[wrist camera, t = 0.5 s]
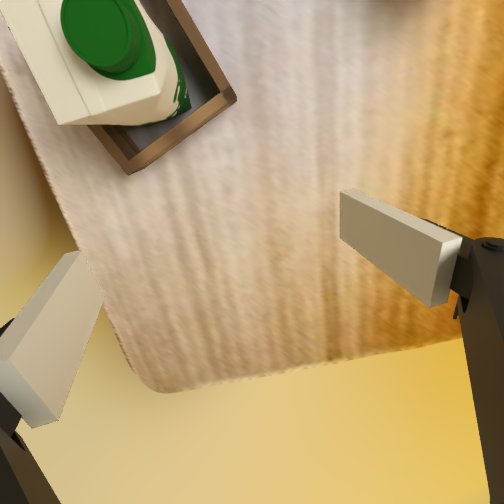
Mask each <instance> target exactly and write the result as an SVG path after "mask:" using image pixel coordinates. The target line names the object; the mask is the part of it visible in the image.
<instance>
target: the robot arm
mask: <svg viewBox="0 0 504 504" xmlns="http://www.w3.org/2000/svg"><path fill="white" fill-rule="evenodd" d="M340 238H341V239H342V240H343V241H344V242H346V243H347V244H348V245H350V246H351V247H352V248H353V249H355V250H356V251H357V252H359V253H360V254H361V255H362V256H364V257H365V258H366V259H368V260H369V261H370V262H371V263H373V264H374V265H375V266H376V267H378V268H379V269H380V270H382V271H383V272H384V273H385V274H387V275H388V276H389V277H391V278H392V279H393V280H394V281H396V282H397V283H398V284H400V285H401V286H402V287H403V288H405V289H406V290H407V291H409V292H410V293H411V294H412V295H414V296H415V297H416V298H417V299H419V300H420V301H421V302H423V303H424V304H425V305H426V306H428V307H429V308H430V307H434V306H437V305H440V304H443V303H447V300H448V296H449V292H450V289H452V290H453V291H455V292H456V293H458V294H459V296H458V300H457V304H456V308H455V312H454V315H453V319H457V316H458V315H459V318H460V324H461V330H462V336H463V342H464V347H465V353H466V359H467V365H468V371H469V376H470V382H471V387H472V394H473V400H474V406H475V411H476V417H477V423H478V429H479V435H480V440H481V446H482V451H483V458H484V464H485V469H486V475H487V481H488V487H489V494H490V504H504V239H501V238H493V237H483V238H478V239H476V240H473V239H470V238H468V237H466V236H463V235H461V234H459V233H457V232H454V231H452V230H450V229H446V228H445V227H443V226H441V225H439V226H438V224H436V223H434V222H431V221H429V220H426V219H421V218H418V217H416V216H413V215H411V214H409V213H407V212H404V211H402V210H400V209H398V208H395V207H393V206H391V205H389V204H386V203H384V202H382V201H380V200H377V199H375V198H373V197H371V196H368V195H366V194H364V193H362V192H359V191H357V190H355V189H349V190H345V191H340ZM104 299H105V295H104V293H103V291H102V289H101V287H100V285H99V283H98V281H97V279H96V277H95V275H94V273H93V271H92V269H91V267H90V265H89V263H88V261H87V259H86V257H85V255H84V253H83V251H82V250H79V251H75V252H71V253H66V254H64V255H63V257H62V258H61V259H60V261H59V262H58V263H57V265H56V266H55V267H54V268H53V270H52V271H51V272H50V274H49V275H48V276H47V277H46V279H45V280H44V281H43V283H42V284H41V285H40V287H39V288H38V289H37V291H36V292H35V293H34V294H33V296H32V297H31V298H30V299H29V301H28V302H27V303H26V305H25V306H24V307H23V309H22V310H21V311H20V312H19V314H18V315H17V316H16V318H13V319H12V320H10V321H9V322H8V323H6V324H5V325H4V326H3V327H2V328H0V504H61V503H60V501H59V500H58V498H57V496H56V495H55V493H54V491H53V489H52V488H51V486H50V484H49V483H48V481H47V479H46V478H45V476H44V474H43V473H42V471H41V469H40V468H39V466H38V464H37V463H36V461H35V459H34V457H33V456H32V454H31V452H30V451H29V449H28V448H27V446H26V444H25V443H24V441H23V439H22V438H21V436H20V435H19V434H18V433H17V432H16V431H15V429H16V427H17V425H18V423H19V421H20V419H21V417H22V418H23V419H24V421H25V422H26V423H27V424H28V425H29V426H30V427H31V428H36V427H39V426H42V425H45V424H49V423H52V422H55V421H59V418H60V415H61V413H62V410H63V407H64V404H65V402H66V399H67V397H68V394H69V391H70V388H71V386H72V383H73V381H74V378H75V375H76V373H77V370H78V367H79V365H80V362H81V359H82V357H83V354H84V352H85V349H86V346H87V344H88V341H89V338H90V336H91V333H92V330H93V328H94V325H95V322H96V320H97V317H98V314H99V312H100V309H101V307H102V304H103V301H104Z"/></svg>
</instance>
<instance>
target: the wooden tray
mask: <svg viewBox="0 0 504 504" xmlns="http://www.w3.org/2000/svg"><path fill="white" fill-rule="evenodd" d="M165 1H166V2H167V4H168V6H169V7H170V9H171V11H172V12H173V14H174V16H175V17H176V19H177V21H178V22H179V24H180V26H181V27H182V29H183V31H184V32H185V34H186V36H187V37H188V39H189V41H190V42H191V44H192V46H193V47H194V49H195V51H196V52H197V54H198V56H199V58H200V59H201V61H202V63H203V64H204V66H205V68H206V69H207V71H208V73H209V74H210V76H211V78H212V79H213V81H214V83H215V84H216V86H217V88H218V89H219V91H220V93H219V94H218V95H216V96H215V97H214V98H212V99H211V100H210V101H208V102H207V103H206V104H204V105H203V106H202V107H200V108H199V109H197V110H196V111H195V112H193V113H192V114H191V115H189V116H188V117H187V118H185V119H184V120H183V121H181V122H180V123H179V124H177V125H176V126H175V127H173V128H172V129H171V130H169V131H168V132H167V133H165V134H164V135H163V136H161V137H160V138H158V139H157V140H156V141H154V142H153V143H152V144H150V145H149V146H148V147H146V148H145V149H144V150H142V151H140V150H139V149H138V147H137V146H136V145H135V143H134V142H133V141H132V139H131V138H130V137H129V135H128V134H127V133H126V132H125V130H124V129H123V128H122V126H121V125H111V124H94V125H87V126H88V127H89V128H90V129H91V131H92V132H93V133H94V134H95V136H96V137H97V138H98V139H99V140H100V142H101V143H102V144H103V145H104V147H105V148H106V149H107V150H108V152H109V153H110V154H111V155H112V156H113V158H114V159H115V160H116V161H117V163H118V164H119V165H120V166H121V168H122V169H123V170H124V171H125V173H126V174H127V175H130V174H133V173H135V172H137V171H140V170H142V169H144V168H145V167H147V166H148V165H149V164H151V163H152V162H154V161H155V160H156V159H158V158H159V157H160V156H162V155H163V154H165V153H166V152H167V151H169V150H170V149H171V148H173V147H174V146H176V145H177V144H178V143H180V142H181V141H182V140H184V139H185V138H187V137H188V136H189V135H191V134H192V133H193V132H195V131H196V130H198V129H199V128H200V127H202V126H203V125H204V124H206V123H207V122H209V121H210V120H211V119H213V118H214V117H215V116H217V115H218V114H219V113H221V112H222V111H224V110H225V109H226V108H228V107H229V106H230V105H232V104H233V103H235V102H236V101H237V96H236V94H235V92H234V91H233V89H232V87H231V86H230V84H229V82H228V80H227V79H226V77H225V75H224V73H223V72H222V70H221V68H220V67H219V65H218V63H217V61H216V60H215V58H214V56H213V54H212V53H211V51H210V49H209V48H208V46H207V44H206V42H205V41H204V39H203V37H202V35H201V34H200V32H199V30H198V29H197V27H196V25H195V23H194V22H193V20H192V18H191V16H190V15H189V13H188V11H187V10H186V8H185V6H184V4H183V3H182V1H181V0H165ZM8 28H9V27H8ZM9 29H10V28H9ZM10 31H11V30H10Z"/></svg>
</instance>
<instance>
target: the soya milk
mask: <svg viewBox="0 0 504 504" xmlns="http://www.w3.org/2000/svg"><path fill="white" fill-rule="evenodd" d="M0 11H1V13H2V15H3V17H4V19H5V20H6V22H7V24H8V26H9V28H10V30H11V32H12V34H13V36H14V38H15V40H16V42H17V44H18V46H19V48H20V50H21V52H22V54H23V56H24V58H25V60H26V62H27V64H28V66H29V68H30V70H31V72H32V74H33V76H34V78H35V80H36V82H37V84H38V86H39V88H40V90H41V92H42V94H43V96H44V98H45V99H46V101H47V103H48V105H49V107H50V109H51V111H52V113H53V115H54V117H55V119H56V121H57V123H58V125H94V124H111V125H134V126H146V125H151V124H154V123H157V122H161V121H164V120H167V119H170V118H172V117H175V116H177V115H179V114H181V113H183V112H185V111H187V110H189V109H191V104H190V99H189V95H188V91H187V87H186V83H185V79H184V76H183V73H182V69H181V66H180V63H179V60H178V57H177V54H176V52H175V50H174V48H173V47H172V45H171V44H170V43H169V42H168V41H167V39H166V38H165V37H164V36H163V34H162V33H161V32H160V30H159V29H158V28H157V27H156V25H155V24H154V23H153V22H152V20H151V19H150V17H149V16H148V15H147V13H146V11H145V10H144V8H143V7H142V5H141V3H140V2H139V0H0Z"/></svg>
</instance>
